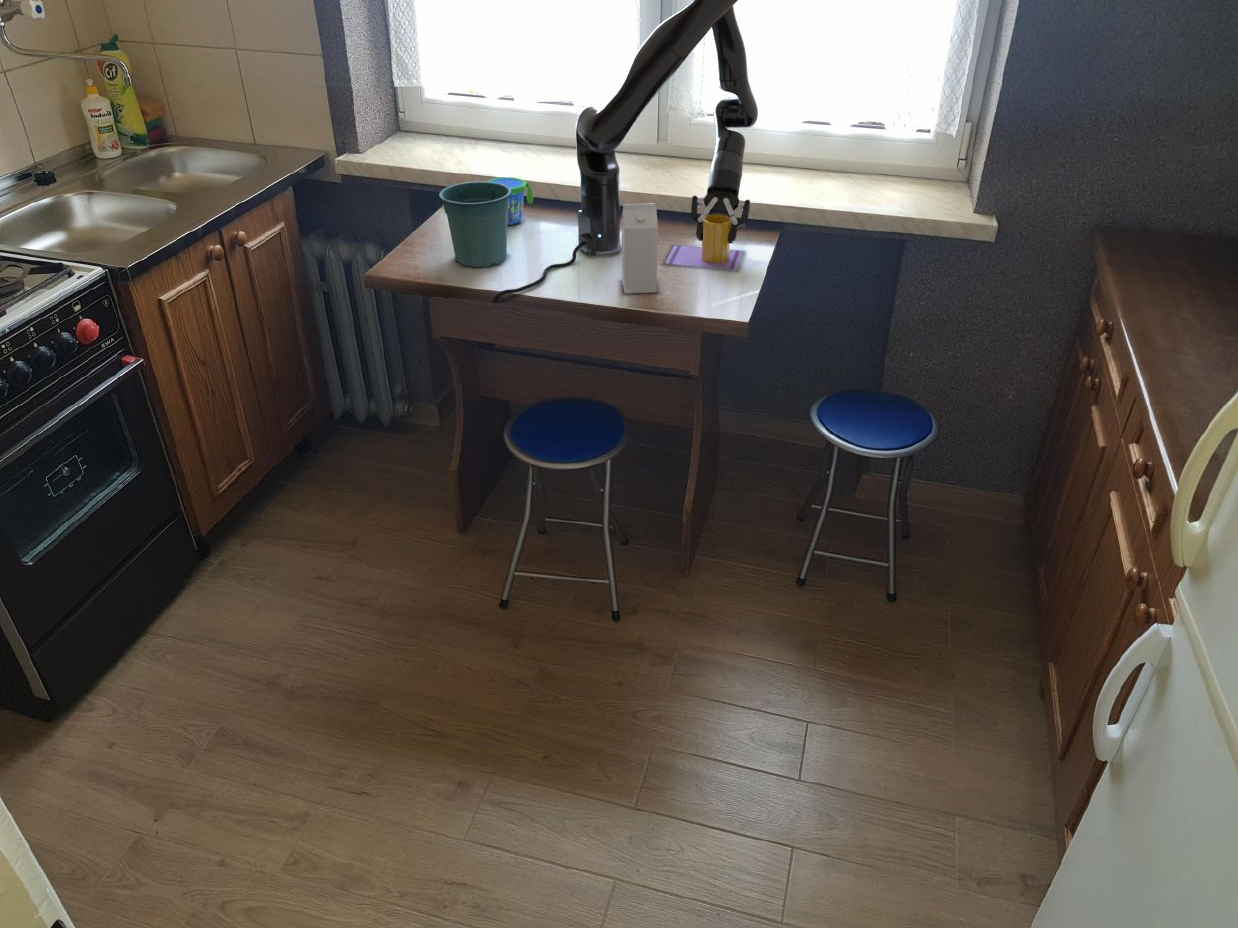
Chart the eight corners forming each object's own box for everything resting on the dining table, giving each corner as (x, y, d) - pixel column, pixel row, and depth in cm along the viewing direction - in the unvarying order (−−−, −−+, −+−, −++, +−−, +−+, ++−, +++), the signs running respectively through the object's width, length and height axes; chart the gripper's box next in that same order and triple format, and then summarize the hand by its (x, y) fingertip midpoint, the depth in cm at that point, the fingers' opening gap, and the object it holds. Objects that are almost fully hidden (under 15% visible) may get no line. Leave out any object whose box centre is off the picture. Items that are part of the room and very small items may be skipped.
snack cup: (524, 210, 256) (521, 172, 251) (543, 221, 249) (541, 182, 243) (471, 221, 249) (468, 183, 244) (490, 233, 242) (486, 194, 236)
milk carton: (621, 281, 216) (621, 199, 206) (652, 280, 217) (654, 198, 206) (624, 294, 211) (624, 210, 200) (656, 293, 211) (658, 209, 200)
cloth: (664, 264, 225) (664, 263, 224) (674, 246, 234) (674, 245, 234) (736, 271, 221) (736, 269, 221) (743, 252, 231) (743, 251, 231)
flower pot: (432, 259, 228) (424, 192, 219) (484, 240, 238) (479, 176, 229) (476, 277, 219) (470, 208, 210) (529, 257, 229) (525, 191, 220)
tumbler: (712, 265, 223) (714, 225, 218) (696, 256, 228) (697, 217, 223) (733, 259, 226) (736, 220, 221) (717, 251, 231) (719, 212, 225)
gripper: (694, 165, 224) (683, 231, 221) (755, 169, 221) (745, 236, 218) (696, 181, 231) (686, 245, 228) (756, 185, 229) (746, 250, 226)
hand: (715, 240), depth 223 cm, fingers closed on tumbler, 6 cm apart
